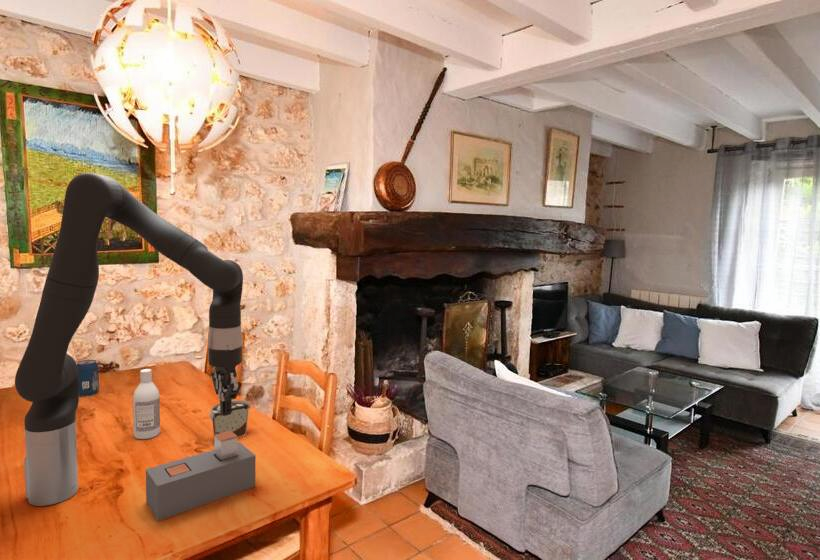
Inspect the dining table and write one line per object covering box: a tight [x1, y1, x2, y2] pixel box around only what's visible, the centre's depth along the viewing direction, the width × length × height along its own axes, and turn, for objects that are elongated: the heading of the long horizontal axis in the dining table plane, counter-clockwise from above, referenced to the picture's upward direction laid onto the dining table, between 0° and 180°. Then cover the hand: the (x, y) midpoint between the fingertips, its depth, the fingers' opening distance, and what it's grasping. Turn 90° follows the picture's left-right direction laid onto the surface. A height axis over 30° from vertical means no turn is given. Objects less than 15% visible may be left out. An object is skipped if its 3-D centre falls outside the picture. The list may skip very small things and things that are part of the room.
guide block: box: [145, 442, 257, 522], centre depth 112 cm, size 22×9×8 cm, turn 133°
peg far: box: [213, 431, 238, 462], centre depth 115 cm, size 4×4×8 cm
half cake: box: [209, 400, 251, 438], centre depth 142 cm, size 12×6×10 cm, turn 141°
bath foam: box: [132, 368, 161, 440], centre depth 140 cm, size 7×7×20 cm
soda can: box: [76, 359, 100, 397], centre depth 171 cm, size 7×7×12 cm
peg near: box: [166, 464, 190, 477], centre depth 108 cm, size 4×4×8 cm
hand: (225, 414), depth 114 cm, fingers closed
